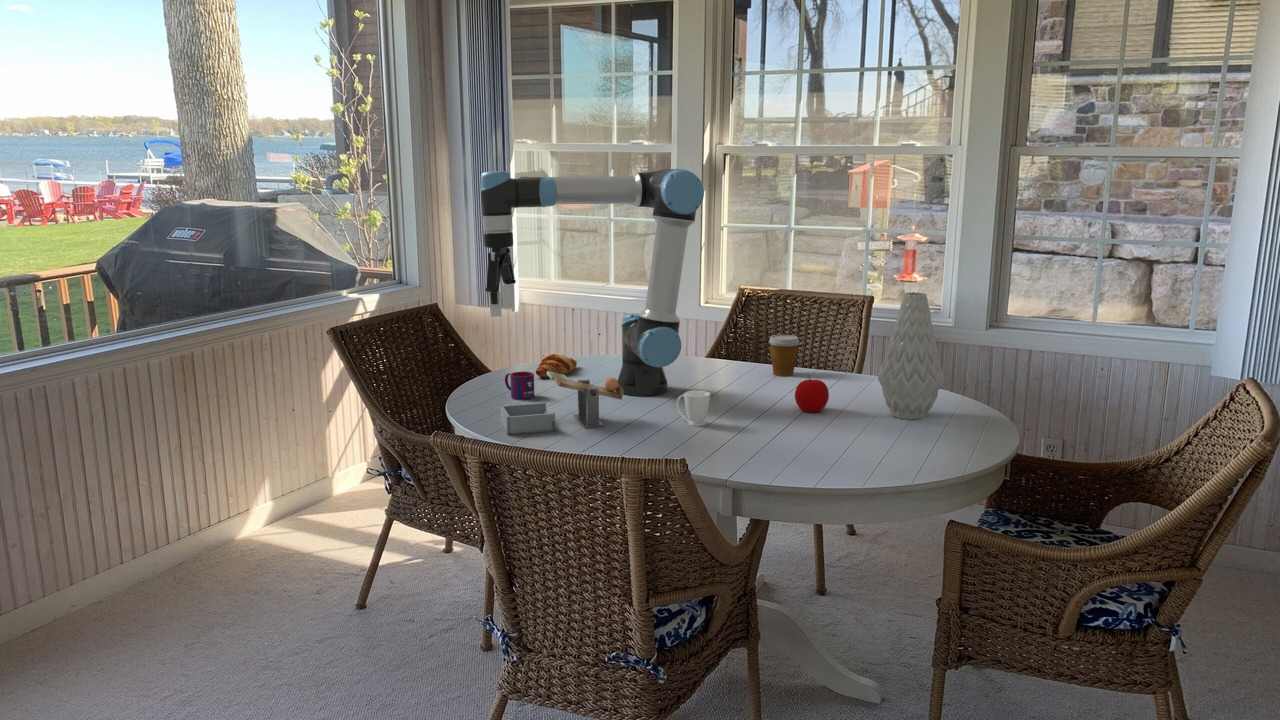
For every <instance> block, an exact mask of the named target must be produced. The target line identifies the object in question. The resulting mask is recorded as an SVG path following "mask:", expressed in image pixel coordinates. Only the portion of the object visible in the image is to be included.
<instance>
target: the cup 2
mask: <svg viewBox="0 0 1280 720" xmlns="http://www.w3.org/2000/svg"><path fill="white" fill-rule="evenodd" d="M711 394H712V393H711V392H709V391H706V390H689V391H685V392H684V393H683V394H680V395H679V396H678V397H677V399H676V401H675V402H676V403H675V407H676V411H677V413H678V415H679V416H680V417H681V418H682V419H683V421H686V422H687V423H688V425H690V426H691V427H692V426H693V427H695V426H696V427H701V426H705V425H706V419H707V415H708V412H709V407H710V406H709V405H710V400H711ZM682 397H683V399H684V404H685V405H684V407H685V412H686V416H687V417H686V416H685V415H684V414H683V413H682V410H680V405H679V404H680V400H681V399H682Z"/></svg>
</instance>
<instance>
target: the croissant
mask: <svg viewBox="0 0 1280 720" xmlns="http://www.w3.org/2000/svg"><path fill="white" fill-rule="evenodd" d="M577 366H578V361H577V359H574V358H572V357H568V356H566V355H564V354H563V355H562V354H561V355H560V354H557V353H552V354H549V355H546V356H544V357H543V358H541V361H540V363H539V364H538V367H537V368H536V369H535V374H536V375H537V376H538V377H539V378H550V377H549V376H548V375H547V371H550V372H554V373H559V374H563V375H565V374H566V375H569V374H570V373H571V372H572V371H574V369H576V368H577Z"/></svg>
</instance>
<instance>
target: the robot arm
mask: <svg viewBox="0 0 1280 720" xmlns="http://www.w3.org/2000/svg"><path fill="white" fill-rule="evenodd" d="M480 175H481V176H480V196H481V211H482V219H481V220H480V222H481V223H482V225H483V227H482V228H483V231H484V233H483V244H484V247H485V248H488V249H489V248H490V249H491V252H488V253H487V260H488V262H487V274H486V275H487V276H486V288H485V292H486V293H487V292H488V293H489V311H490V317H491V318H492V317H493V318H495V317H497V318H498V317H499V318H500V317H502V316H503V315H502V304H503V309H514V308H515V305H514V304H515V303H514V302H515V301H514V285H513V284H516V283H517V282H516V281H517V280H516V279H515V274H514V268H513V263H512V257H511V249H510V247H513V246H514V233H513V232H512V230H513V229H514V228H513V215H512V208H513V209H518V208H546V207H553V206H555V205H612V204H613V205H617V204H618V205H619V204H626V205H627V204H632V205H633V206H634V207H636V208H651V209H653V210H652V211H653V212H652V217H653V219H654V221H655V222H656V228H655V235H654V242H653V250H652V257H651V265H650V272H649V277H648V278H649V279H648V286H647V293H646V298H645V299H646V300H645V306H644V309H643V310H642V311H641V312H640V313H639V312H638V313H637V312H636V313H628V314H627V313H626V314H624V315H622V319H621V342H622V343H621V344H622V345H621V346H622V347H621V351H622V352H621V353H622V358H621V359H622V361H621V362H622V364H621V367H620V371H619V374H618V378H617V379H616V380H617V381H618V385H619V386H620V387H621V388H622V389H623V390H624V393H623V395H626V396H627V395H628V396H638V397H639V396H641V397H644V396H645V397H646V396H657V395H661V394H664V393H666V392H668V385H669V384H668V379H667V377H666V374H665V370H664V367H667V366H670V365H671V364H673V363H674V362H675V361H676V360H677V359H678V358H679V356H680V354H681V351H682V340H681V337H680V335H679V332H680V331H679V329H680V323H681V320H680V318H679V317H678V315H677V313H676V312H677V306H678V301H679V292H680V285H681V279H682V271H683V265H684V257H685V251H686V245H687V238H688V231H689V227H691V225H693V224H694V223H695V222H696V215H697V210H698V209H699V208H700V207H701V205H702V203H703V200H704V197H705V189H704V185H703V183H702V181H701V179H700V178H699V176H698V175H696V174H695V173H694V172H692V171H690V170H688V169H683V168H665V169H659V170H653V171H646V172H642V171H641V172H634V174H633V175H631V176H627V175H626V176H625V175H624V176H622V175H621V176H544V177H543V176H542V177H541V176H534V177H533V176H520V177H518V178H511V176H510V172H509V171H505V170H502V171H498V170H497V171H484V172H482V173H481V174H480ZM501 279H502V285H501V286H502V287H501V288H502V296H501V291H500V284H501ZM501 298H502V299H501Z"/></svg>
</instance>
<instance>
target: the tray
mask: <svg viewBox="0 0 1280 720" xmlns="http://www.w3.org/2000/svg"><path fill="white" fill-rule="evenodd" d="M499 421H500V425H501V426H502V428H503V430H504V431H505V433H506V434H507V436H511V435H512V436H513V435H523V434H524V435H525V434H537V433H547V432H549V433H551V432H555V431H556V413H554V412H551V413H550V412H548V411H547V403H546V402H544V401H543V402H536V403H534V402H532V403H522V404H520V403H519V404H507V405H506V404H505V405H499Z"/></svg>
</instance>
